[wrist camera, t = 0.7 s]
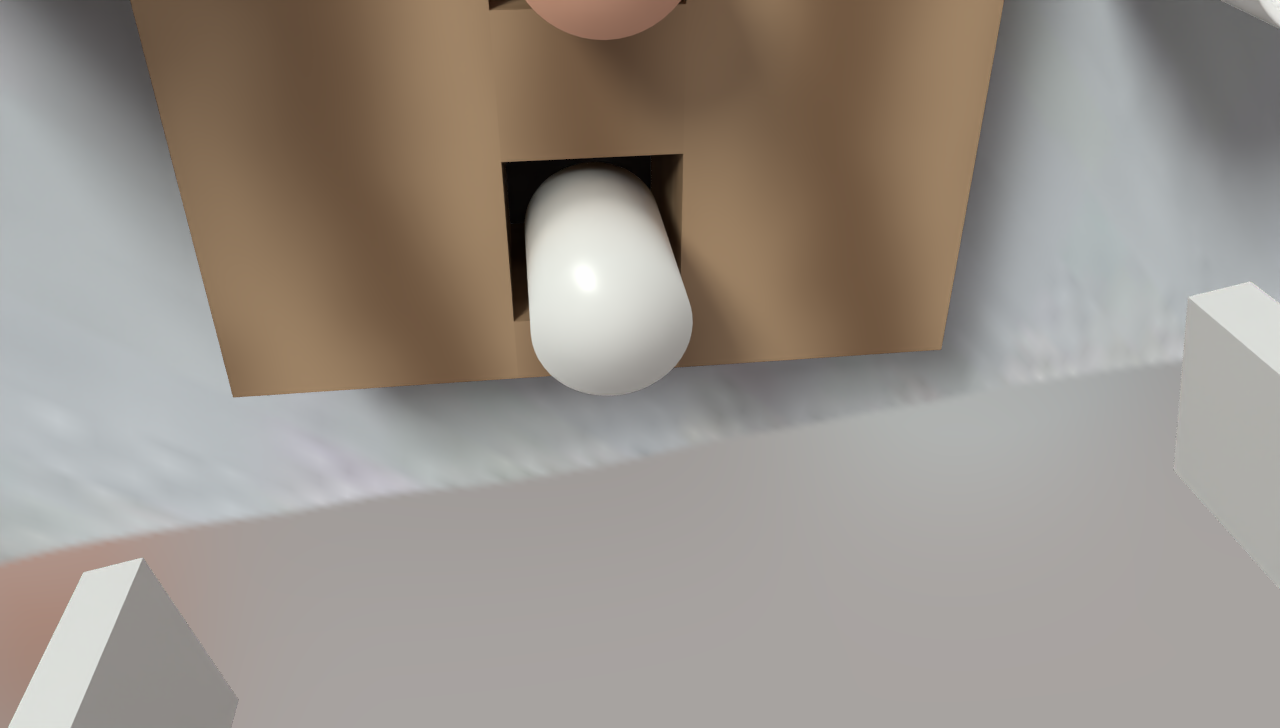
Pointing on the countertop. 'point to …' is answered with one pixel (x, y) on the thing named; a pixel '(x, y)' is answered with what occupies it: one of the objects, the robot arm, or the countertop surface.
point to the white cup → (1259, 9)
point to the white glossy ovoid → (603, 282)
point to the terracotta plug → (603, 16)
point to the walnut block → (563, 129)
